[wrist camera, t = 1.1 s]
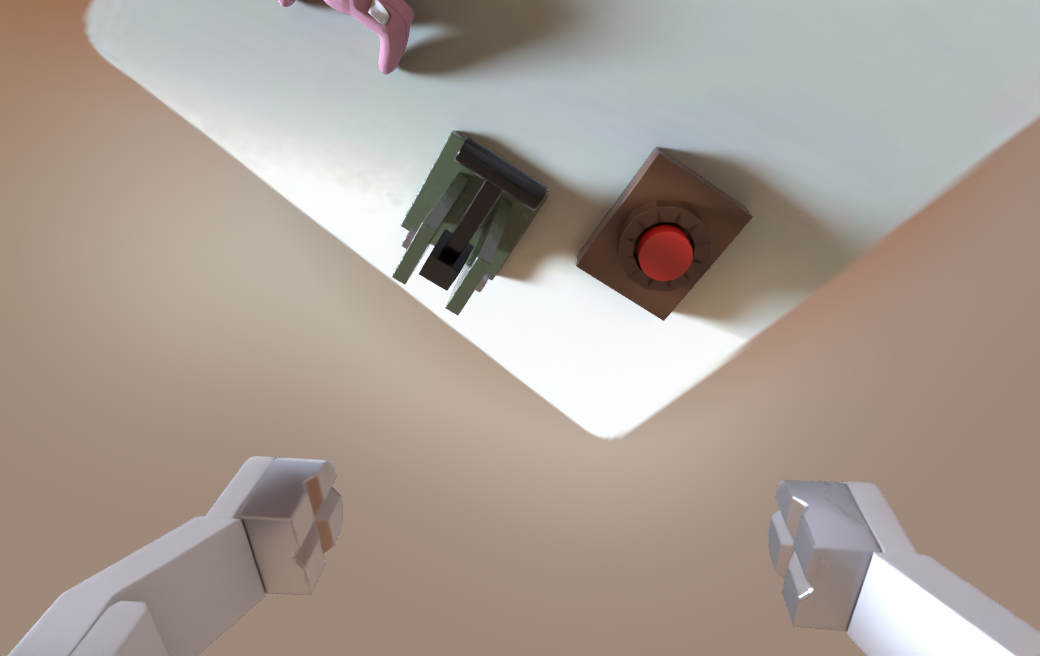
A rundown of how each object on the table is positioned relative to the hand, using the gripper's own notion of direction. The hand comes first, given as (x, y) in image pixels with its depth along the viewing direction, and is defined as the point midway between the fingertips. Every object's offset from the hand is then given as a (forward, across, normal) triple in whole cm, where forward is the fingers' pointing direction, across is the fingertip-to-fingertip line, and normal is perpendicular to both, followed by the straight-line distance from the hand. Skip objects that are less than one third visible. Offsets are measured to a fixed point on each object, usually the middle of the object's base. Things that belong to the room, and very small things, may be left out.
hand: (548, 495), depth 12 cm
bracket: (+42, +8, +7) cm, 43 cm away
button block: (+42, -7, +10) cm, 43 cm away
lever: (+28, +6, +3) cm, 29 cm away
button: (+38, -7, +10) cm, 40 cm away
